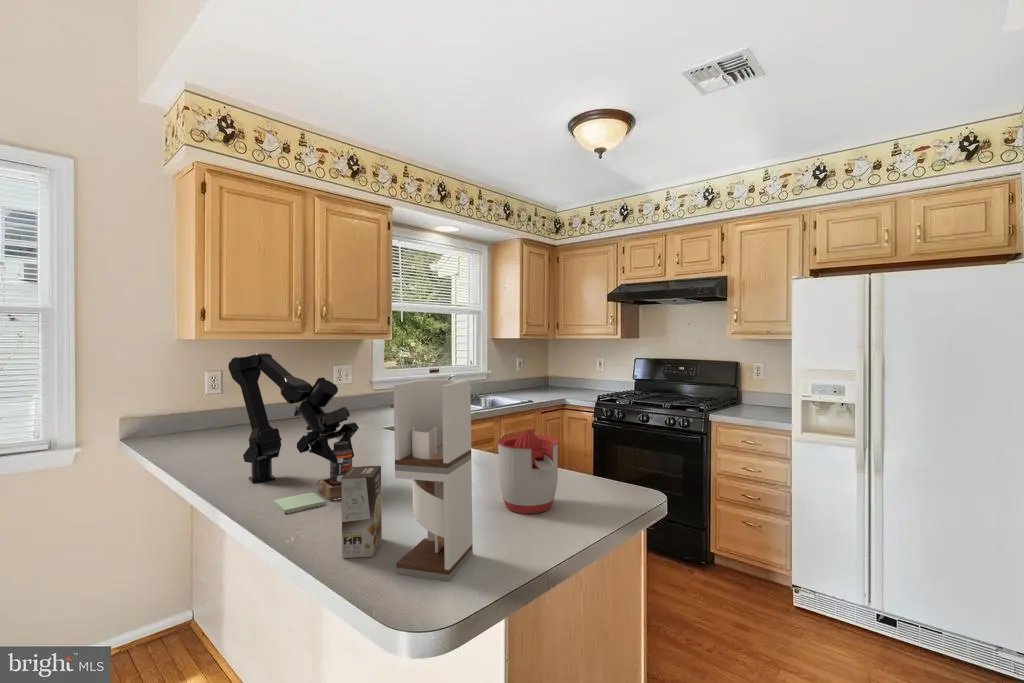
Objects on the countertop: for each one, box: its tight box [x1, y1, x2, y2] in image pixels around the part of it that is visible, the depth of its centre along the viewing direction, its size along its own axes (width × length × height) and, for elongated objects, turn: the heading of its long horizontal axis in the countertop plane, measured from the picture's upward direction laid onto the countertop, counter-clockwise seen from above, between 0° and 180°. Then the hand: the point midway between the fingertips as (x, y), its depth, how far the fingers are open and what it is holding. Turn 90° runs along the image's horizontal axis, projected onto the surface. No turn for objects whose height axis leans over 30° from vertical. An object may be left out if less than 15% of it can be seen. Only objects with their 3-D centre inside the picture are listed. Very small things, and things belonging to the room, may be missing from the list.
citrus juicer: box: [497, 428, 559, 515], centre depth 125 cm, size 16×17×20 cm
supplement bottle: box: [329, 441, 353, 485], centre depth 138 cm, size 6×6×11 cm
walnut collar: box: [317, 477, 342, 502], centre depth 138 cm, size 10×10×4 cm
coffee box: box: [341, 465, 383, 559], centre depth 102 cm, size 9×6×16 cm
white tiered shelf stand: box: [393, 378, 474, 582], centre depth 94 cm, size 11×11×35 cm
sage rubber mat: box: [273, 491, 326, 515], centre depth 129 cm, size 10×10×1 cm
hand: (344, 459), depth 138 cm, fingers closed on supplement bottle, 6 cm apart
